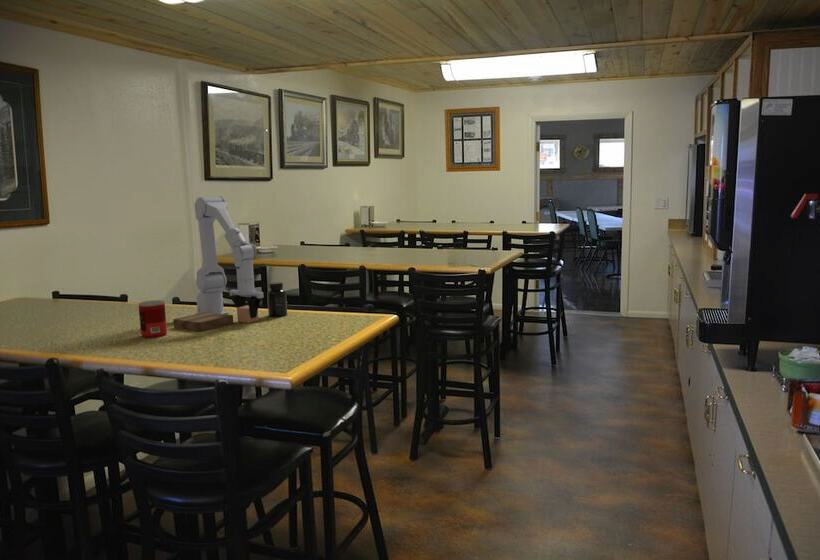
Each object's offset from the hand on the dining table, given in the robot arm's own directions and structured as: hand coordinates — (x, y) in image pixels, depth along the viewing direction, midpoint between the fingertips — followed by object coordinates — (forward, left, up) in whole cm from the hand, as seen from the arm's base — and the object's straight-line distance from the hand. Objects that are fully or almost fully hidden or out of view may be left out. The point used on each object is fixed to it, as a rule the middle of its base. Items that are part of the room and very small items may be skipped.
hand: (247, 317), depth 238 cm
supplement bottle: (+2, +13, -2) cm, 13 cm away
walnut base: (-9, -12, -2) cm, 15 cm away
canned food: (-12, -30, -2) cm, 32 cm away
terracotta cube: (0, 0, -1) cm, 1 cm away
